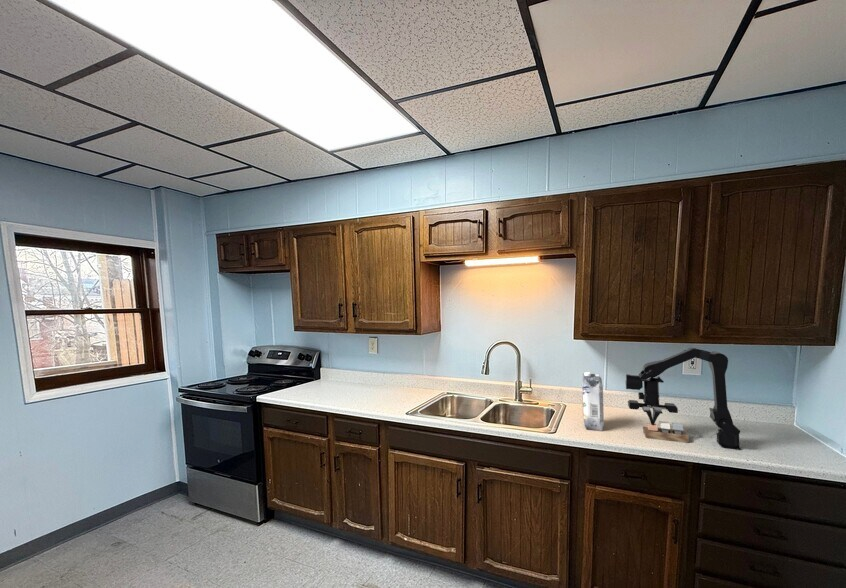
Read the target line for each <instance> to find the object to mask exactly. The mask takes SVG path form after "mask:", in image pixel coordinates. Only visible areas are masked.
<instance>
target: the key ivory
mask: <svg viewBox="0 0 846 588" xmlns="http://www.w3.org/2000/svg"><path fill="white" fill-rule="evenodd" d="M658 422H659V423H658V424H659V428H661V430H662V433H668V429H671V423H669V421H661V420H659V421H658Z"/></svg>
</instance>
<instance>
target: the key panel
mask: <svg viewBox="0 0 846 588" xmlns="http://www.w3.org/2000/svg"><path fill="white" fill-rule="evenodd" d="M642 431H643V432H642V433H643V435H644V437H645V438H646V439H653V440H661V441H670V442H676V443H677V442H679V443H686V444H687V443H688V444H689V440H690V439H689V435H688V434H687V432H685V430H681V434H674V429H673V428H672V429H671V428H670V429H668V433H662V430H661V427H658V431H656V432H653V431H649V429H648V427H647V426H642Z"/></svg>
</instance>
